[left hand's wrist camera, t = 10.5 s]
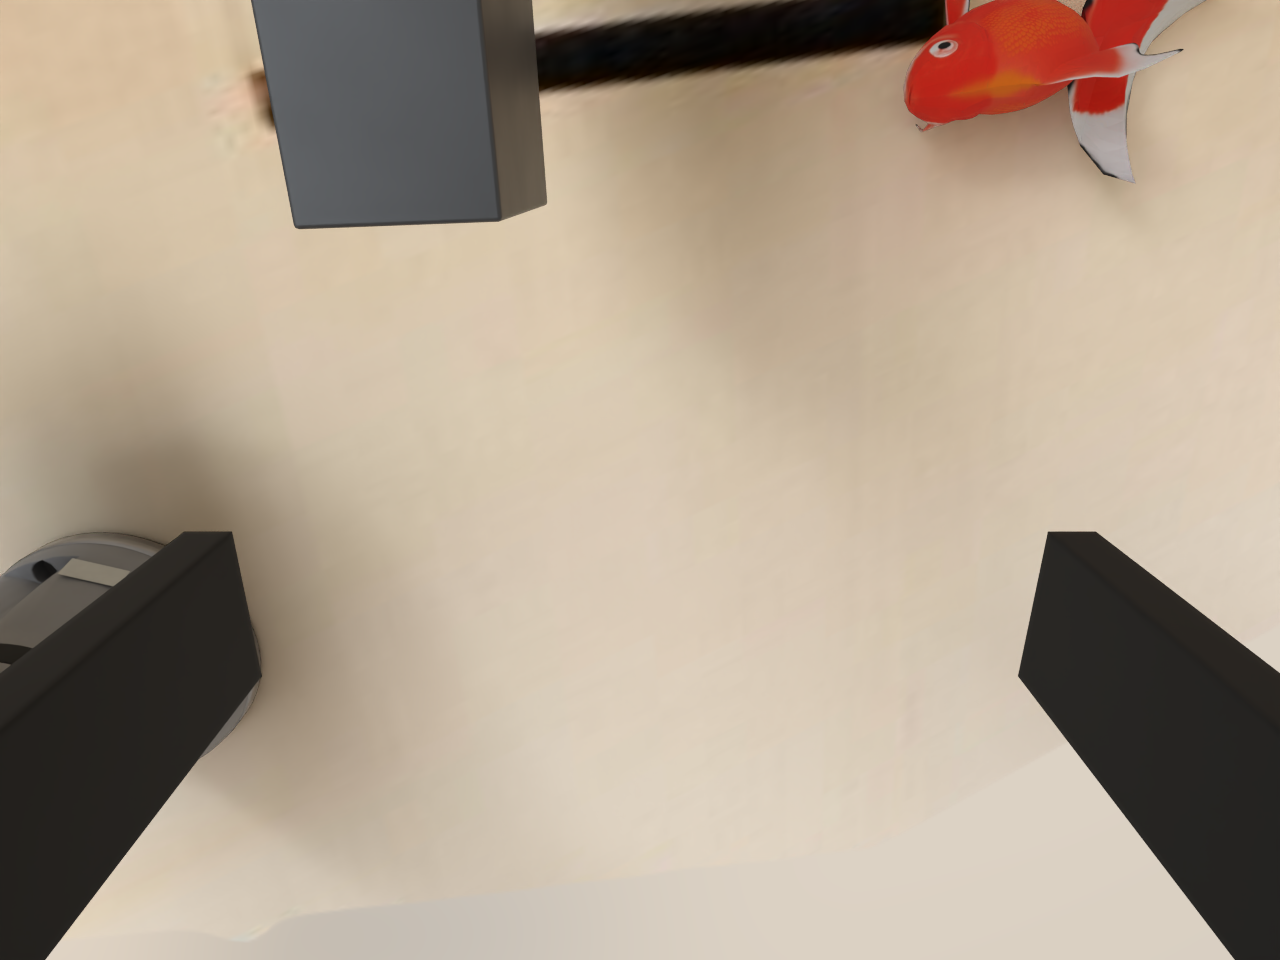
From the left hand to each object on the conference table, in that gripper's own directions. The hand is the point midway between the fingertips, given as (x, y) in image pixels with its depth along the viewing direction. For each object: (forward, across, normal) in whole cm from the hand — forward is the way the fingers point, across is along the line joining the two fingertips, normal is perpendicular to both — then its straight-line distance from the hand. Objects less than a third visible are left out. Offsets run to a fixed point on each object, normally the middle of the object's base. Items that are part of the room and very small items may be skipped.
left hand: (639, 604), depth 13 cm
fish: (+29, -18, -12) cm, 36 cm away
